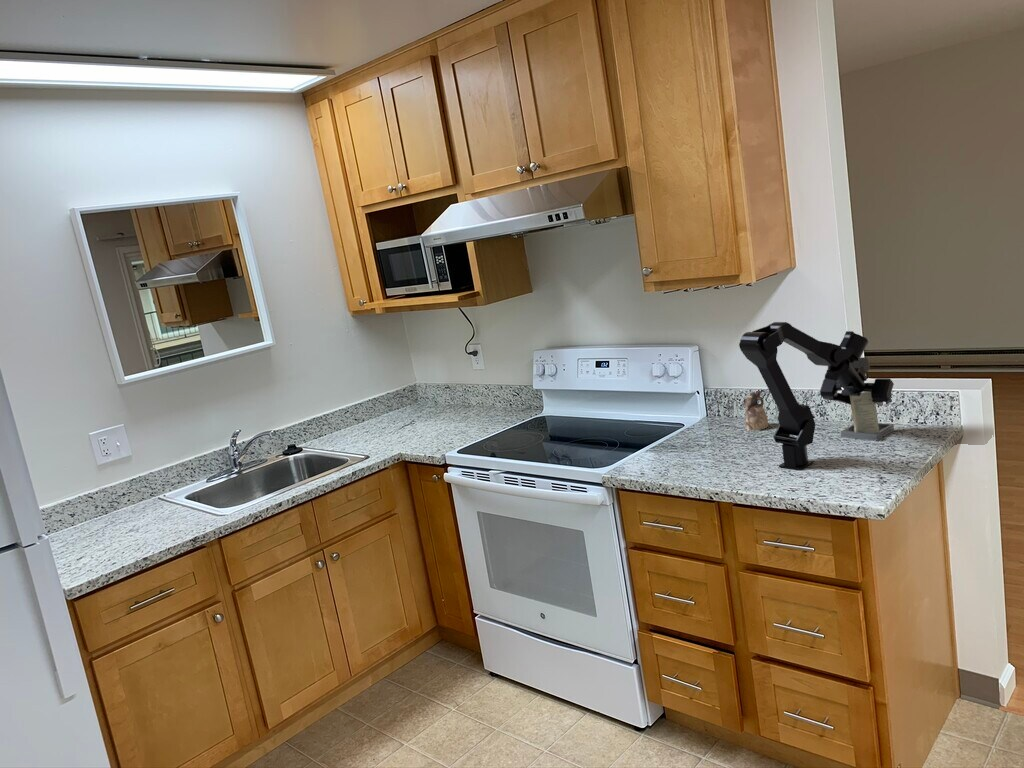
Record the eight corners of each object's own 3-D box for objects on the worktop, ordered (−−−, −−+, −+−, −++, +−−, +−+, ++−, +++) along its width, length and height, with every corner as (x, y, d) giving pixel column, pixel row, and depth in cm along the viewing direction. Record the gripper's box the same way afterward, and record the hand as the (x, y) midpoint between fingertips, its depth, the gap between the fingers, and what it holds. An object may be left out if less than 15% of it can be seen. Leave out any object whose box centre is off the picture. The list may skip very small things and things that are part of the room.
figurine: (744, 426, 246) (739, 390, 244) (767, 423, 245) (762, 387, 243) (746, 432, 240) (741, 395, 237) (770, 429, 238) (765, 392, 236)
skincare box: (877, 429, 218) (872, 387, 217) (879, 433, 214) (875, 390, 213) (853, 431, 221) (848, 390, 219) (855, 435, 216) (850, 393, 215)
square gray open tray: (877, 440, 210) (876, 434, 210) (840, 437, 218) (840, 431, 218) (894, 430, 217) (893, 424, 216) (858, 427, 225) (857, 421, 224)
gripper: (887, 349, 204) (908, 380, 212) (820, 350, 218) (842, 379, 227) (877, 385, 200) (898, 415, 209) (809, 383, 214) (832, 411, 223)
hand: (866, 404), depth 217 cm, fingers open, 8 cm apart
